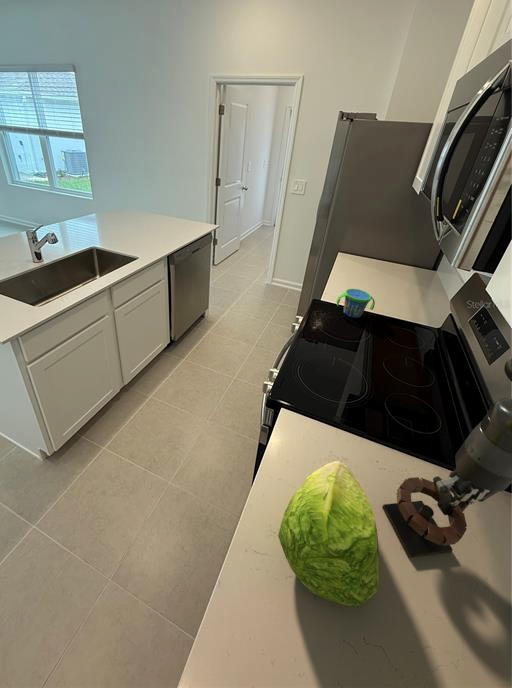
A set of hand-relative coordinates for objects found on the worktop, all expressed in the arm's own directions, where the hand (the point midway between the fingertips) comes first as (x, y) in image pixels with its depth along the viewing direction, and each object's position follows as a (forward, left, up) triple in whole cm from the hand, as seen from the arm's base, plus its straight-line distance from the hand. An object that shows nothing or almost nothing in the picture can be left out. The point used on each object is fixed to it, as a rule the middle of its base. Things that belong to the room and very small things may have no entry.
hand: (448, 509), depth 60 cm
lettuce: (+23, -1, -7) cm, 24 cm away
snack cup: (-23, -82, -7) cm, 86 cm away
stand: (+4, 0, -7) cm, 8 cm away
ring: (+4, 0, 0) cm, 5 cm away
